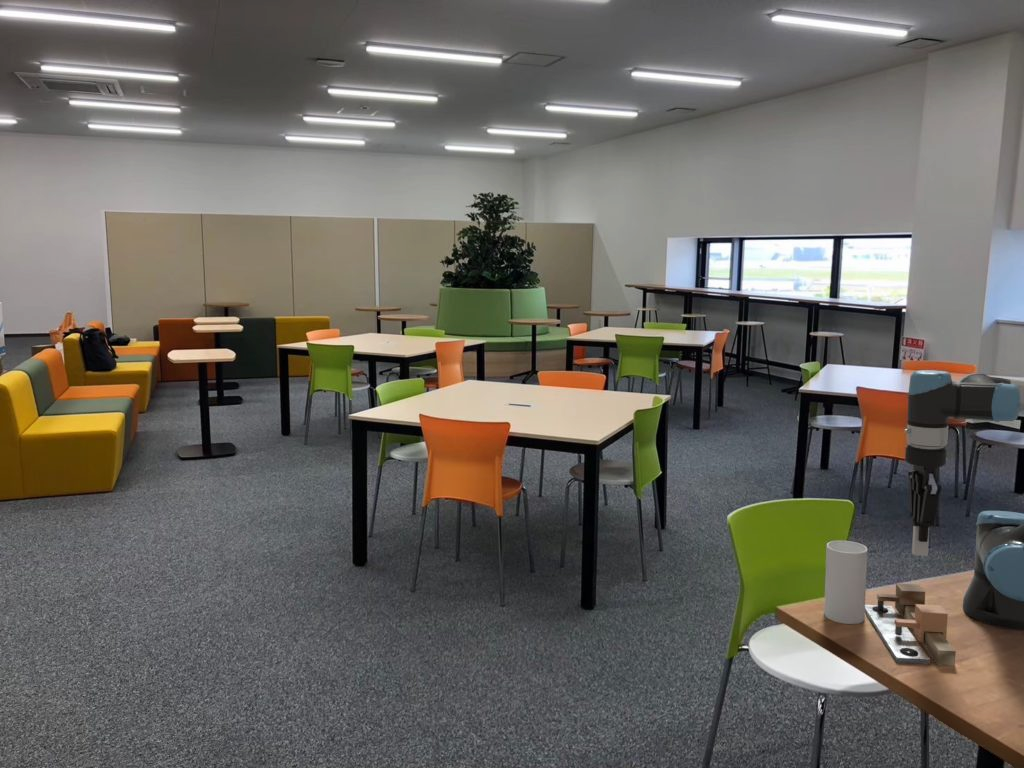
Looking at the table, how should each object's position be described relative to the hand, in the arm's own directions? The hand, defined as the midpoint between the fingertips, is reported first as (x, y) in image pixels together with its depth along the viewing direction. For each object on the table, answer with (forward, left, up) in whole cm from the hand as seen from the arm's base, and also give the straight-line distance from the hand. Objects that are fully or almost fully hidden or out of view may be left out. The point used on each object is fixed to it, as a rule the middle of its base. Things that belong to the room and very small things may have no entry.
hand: (919, 554), depth 166 cm
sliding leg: (+2, +8, -15) cm, 17 cm away
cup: (+14, -3, -16) cm, 22 cm away
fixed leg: (+2, -5, -15) cm, 16 cm away
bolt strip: (+6, +5, -16) cm, 18 cm away
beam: (0, +5, -16) cm, 17 cm away
